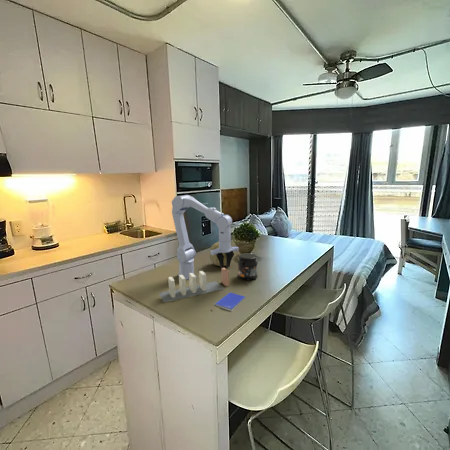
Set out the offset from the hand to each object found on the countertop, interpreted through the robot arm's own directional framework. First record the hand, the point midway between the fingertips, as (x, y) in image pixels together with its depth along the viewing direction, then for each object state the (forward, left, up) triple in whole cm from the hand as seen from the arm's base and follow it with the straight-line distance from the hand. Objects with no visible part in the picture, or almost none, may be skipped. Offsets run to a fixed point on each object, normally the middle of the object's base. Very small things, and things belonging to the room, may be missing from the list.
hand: (225, 266), depth 124 cm
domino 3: (0, -17, -9) cm, 19 cm away
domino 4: (0, -12, -9) cm, 15 cm away
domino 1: (0, -27, -9) cm, 28 cm away
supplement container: (-3, +15, -10) cm, 18 cm away
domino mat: (0, -18, -9) cm, 20 cm away
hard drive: (+17, -6, -10) cm, 21 cm away
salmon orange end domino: (0, 0, -9) cm, 9 cm away
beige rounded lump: (-26, +10, -10) cm, 29 cm away
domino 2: (0, -22, -9) cm, 24 cm away
